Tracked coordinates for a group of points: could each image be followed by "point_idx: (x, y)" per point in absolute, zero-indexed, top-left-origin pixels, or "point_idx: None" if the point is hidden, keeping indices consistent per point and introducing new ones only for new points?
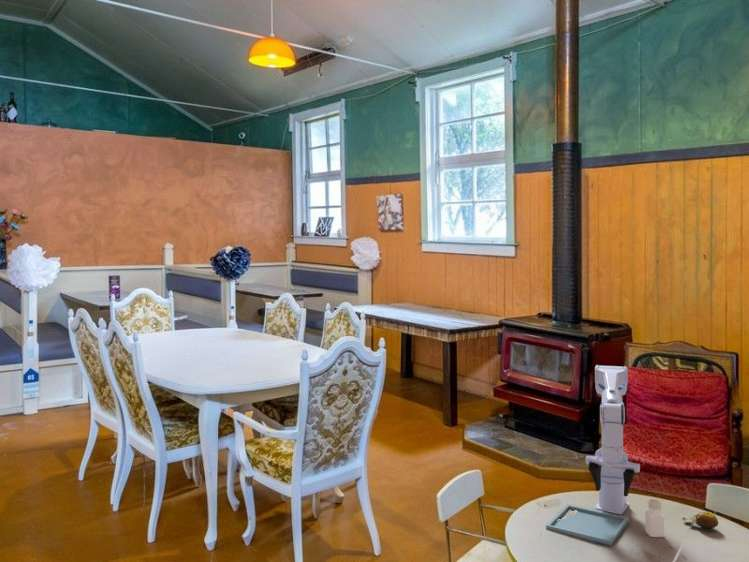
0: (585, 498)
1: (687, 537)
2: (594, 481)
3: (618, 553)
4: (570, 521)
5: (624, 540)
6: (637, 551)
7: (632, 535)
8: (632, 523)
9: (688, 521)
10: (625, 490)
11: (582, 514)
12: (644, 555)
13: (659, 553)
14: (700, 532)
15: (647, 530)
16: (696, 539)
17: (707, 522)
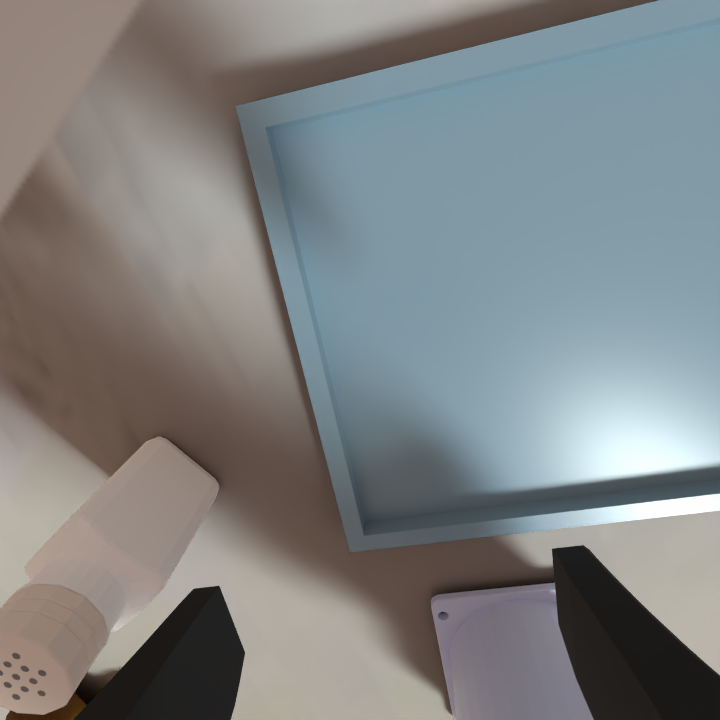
0: None
1: None
2: (688, 650)
3: (155, 44)
4: (672, 277)
5: (243, 287)
6: (97, 187)
7: (248, 391)
8: (333, 538)
9: None
10: (150, 650)
11: (635, 447)
12: (35, 162)
13: (4, 265)
14: None
15: (181, 469)
16: (12, 559)
17: (18, 713)
